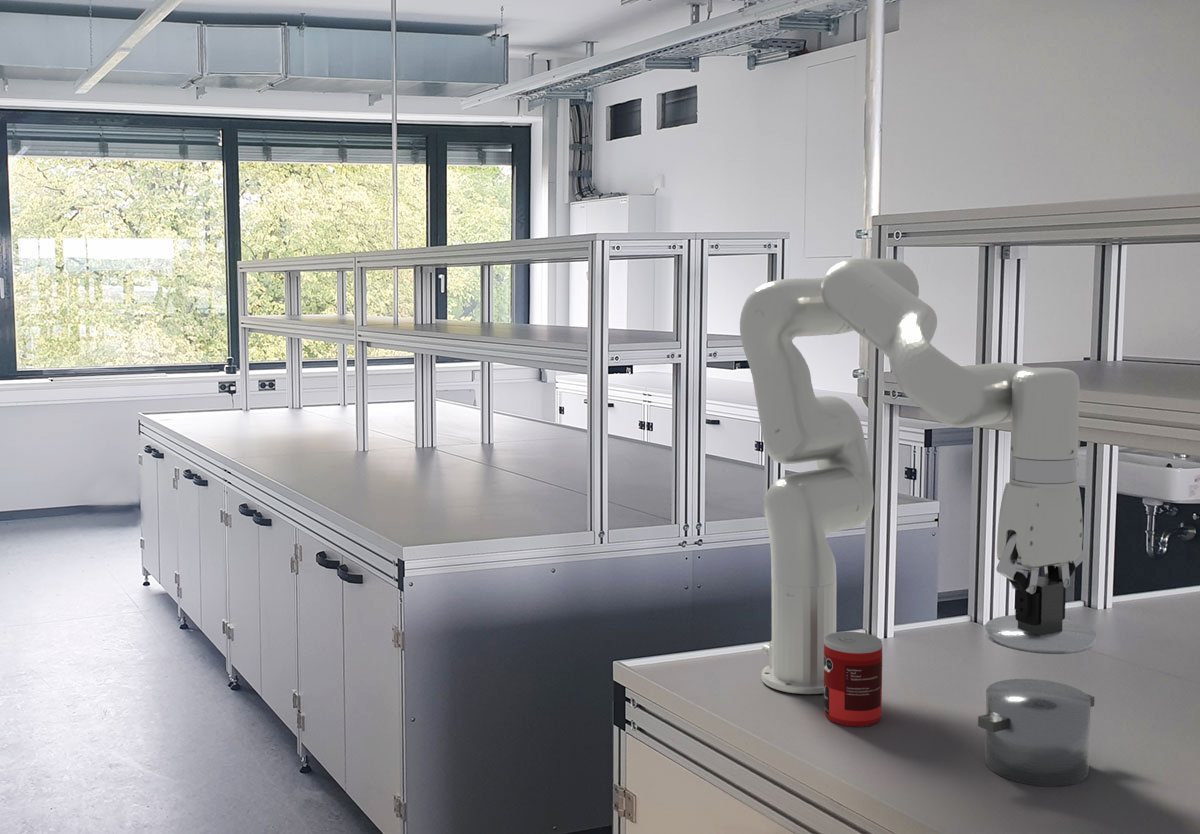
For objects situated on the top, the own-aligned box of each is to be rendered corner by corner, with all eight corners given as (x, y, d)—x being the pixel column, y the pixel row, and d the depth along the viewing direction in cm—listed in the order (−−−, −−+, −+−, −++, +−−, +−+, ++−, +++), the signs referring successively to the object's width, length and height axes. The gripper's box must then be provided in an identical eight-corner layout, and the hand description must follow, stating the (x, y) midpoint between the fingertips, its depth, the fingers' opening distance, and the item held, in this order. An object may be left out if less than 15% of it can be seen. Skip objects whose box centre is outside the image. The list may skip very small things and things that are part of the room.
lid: (963, 632, 147) (964, 577, 146) (1036, 616, 153) (1037, 563, 152) (1043, 660, 136) (1044, 601, 135) (1118, 643, 142) (1121, 586, 141)
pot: (948, 762, 148) (949, 693, 147) (1047, 735, 156) (1049, 669, 155) (1022, 799, 137) (1024, 724, 136) (1125, 768, 145) (1127, 697, 144)
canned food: (839, 702, 169) (840, 627, 168) (891, 715, 164) (892, 638, 163) (813, 718, 163) (813, 641, 162) (866, 732, 158) (866, 652, 157)
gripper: (1067, 461, 149) (1063, 603, 151) (968, 473, 142) (966, 622, 144) (1117, 469, 142) (1113, 617, 145) (1017, 482, 135) (1013, 639, 137)
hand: (1040, 618), depth 144 cm, fingers closed on lid, 3 cm apart
